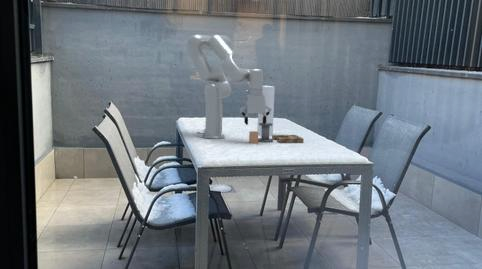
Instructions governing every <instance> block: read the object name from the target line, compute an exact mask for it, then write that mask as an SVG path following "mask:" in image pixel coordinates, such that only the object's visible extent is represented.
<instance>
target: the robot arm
mask: <svg viewBox="0 0 482 269" xmlns="http://www.w3.org/2000/svg"><path fill="white" fill-rule="evenodd" d="M231 46H232V41H231V39H230V38H229V37H228V36H227V35H225V34H224V35H222V34H213V35H206V34H193V35H191V36H190V37H189V38H188V40H187V43H186V51H187V54H188V56H189V58H190V59H191V61H192V64H193V65H194V68H195V70H196V72H197V73H198V76H199V78H200V80H201V81H202V82H204V83H207V84H206V85H205V87H204V98H205V99H204V100H205V128H203V129H202V130H199V129H198V130H197V131H196V133H197V134H199V135H202V138H203V139H214V140H218V139H219V140H221V139H224V138H225V134H223V102H222V99H226V98H228V97H230V96H231V93H232V88H231V85H230V82H229V80H228V78H227V76H228V77H229V79H231V81H233V82H234V83H237V84H238V83H239V84H240V83H241V84H243V83H248V89H246V90H245V93H247V96H246V102H245V106H244V105H243V106H242V107H240V108H239V112H240V114H241V115H242V116H243V118H244V124H245V125H247V126H248V125H249V117H248V116H249V115H250V114H252V115H253V114H255V115H256V114H257V115H258V114H263V124H265V123H266V117H267V116H268V115H269V113H270V111H271V108H269V107H267V106H265V97H264V95H263V86H264V84H263V83H264V80H263V78H264V76H263V75H264V72H263V69H261V68H251V69H250V68H240V67H238V65H236V63H235V62H234V60H233V59H234V58H235V55H236V54H235V53H236V52H235V51H234V49H232V47H231ZM203 51H208V52H209V51H211V52H212V51H213V52H214V53H215V54H216V56H217V57H218V58H219V59H220V61H221V62H222V68H223V69H222V68H221V67H220V66H218V65H212V64H211V62H210V61H209V59H208V57H207V55H206V54H205V53H204V52H203ZM225 74H226V75H227V76H226V75H225ZM266 109H268V111H267V112H266ZM244 110H245V112H244ZM265 112H266V113H265Z"/></svg>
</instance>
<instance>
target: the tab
mask: <svg viewBox="0 0 482 269" xmlns="http://www.w3.org/2000/svg"><path fill="white" fill-rule="evenodd" d="M248 134H249V135H248V137H249V138H248V142H249V144H259V142H258V138H259V136H258V132H257V131H255V130H254V131H253V130H252V131H249V133H248Z"/></svg>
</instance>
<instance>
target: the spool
mask: <svg viewBox="0 0 482 269" xmlns="http://www.w3.org/2000/svg"><path fill="white" fill-rule="evenodd" d="M259 125H261V126H262V131H261V136H260V137H258V143H259V142H260V143H272V142H274V140H273V139H272V138H270V136H269V130H270V126H272V125H273V126H274V122H273V123H265V124H263V122H261V123H259Z"/></svg>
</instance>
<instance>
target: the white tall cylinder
mask: <svg viewBox="0 0 482 269" xmlns="http://www.w3.org/2000/svg"><path fill="white" fill-rule="evenodd" d="M275 87H276V86H273V85H272V86H271V85H263V95H264V97H265V106H267V107H269V108H271V111H270V113H269V115H268V116H267V117H266V123H273V125H272V126H270V130H269V137H272V135H274V111H275V89H276V88H275ZM267 111H268V109H266V112H267ZM266 112H265V113H266ZM261 122H263V114H257V132H258V137H259V136H260V137H261V131H262V126H261V125H259V123H261Z"/></svg>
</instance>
